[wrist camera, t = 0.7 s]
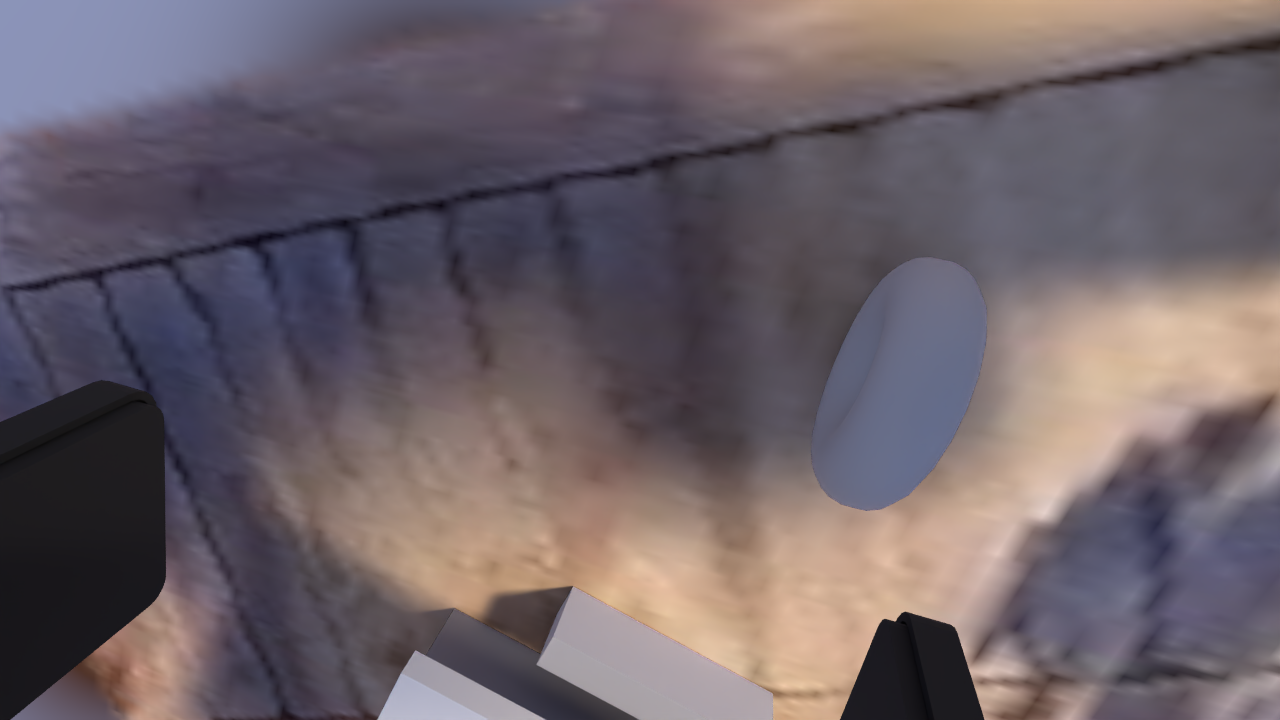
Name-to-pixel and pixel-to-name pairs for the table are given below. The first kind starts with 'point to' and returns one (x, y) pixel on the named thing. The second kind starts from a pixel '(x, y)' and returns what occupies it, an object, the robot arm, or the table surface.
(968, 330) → the donut
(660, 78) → the table surface
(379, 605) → the table surface
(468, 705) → the ledge cabinet
